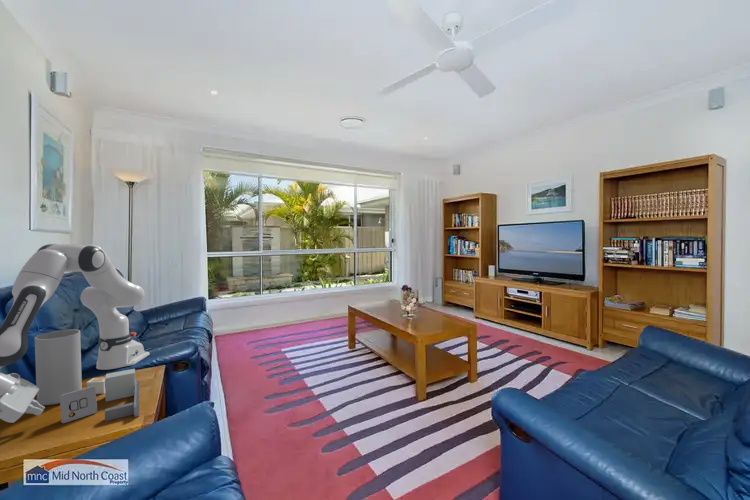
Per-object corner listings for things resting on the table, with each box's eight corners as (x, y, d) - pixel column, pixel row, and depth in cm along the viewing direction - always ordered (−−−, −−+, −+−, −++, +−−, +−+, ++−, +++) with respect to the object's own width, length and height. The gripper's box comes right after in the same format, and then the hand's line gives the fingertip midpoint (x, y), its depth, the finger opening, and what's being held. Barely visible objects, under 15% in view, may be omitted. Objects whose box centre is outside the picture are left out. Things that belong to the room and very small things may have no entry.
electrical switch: (61, 425, 108) (60, 397, 108) (58, 420, 111) (57, 393, 111) (97, 413, 115) (96, 387, 115) (94, 409, 118) (93, 384, 119)
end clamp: (105, 418, 112) (105, 408, 112) (134, 411, 116) (134, 402, 116) (104, 421, 110) (104, 411, 110) (134, 414, 115) (134, 404, 115)
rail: (135, 390, 132) (135, 380, 132) (139, 389, 133) (139, 379, 133) (134, 417, 113) (133, 406, 113) (139, 416, 114) (139, 404, 113)
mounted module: (106, 396, 127) (105, 373, 126) (135, 390, 132) (134, 368, 132) (105, 401, 123) (104, 378, 122) (135, 395, 128) (134, 372, 128)
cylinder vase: (31, 400, 123) (28, 336, 122) (73, 387, 134) (71, 327, 133) (44, 409, 117) (42, 341, 116) (88, 394, 128) (86, 332, 127)
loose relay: (93, 390, 132) (93, 377, 132) (110, 388, 133) (109, 376, 133) (86, 394, 128) (86, 382, 128) (104, 393, 129) (103, 380, 129)
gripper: (-5, 395, 95) (43, 417, 101) (17, 371, 111) (57, 391, 117) (-28, 415, 92) (23, 436, 98) (-2, 387, 109) (40, 406, 115)
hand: (42, 411), depth 108 cm, fingers closed
